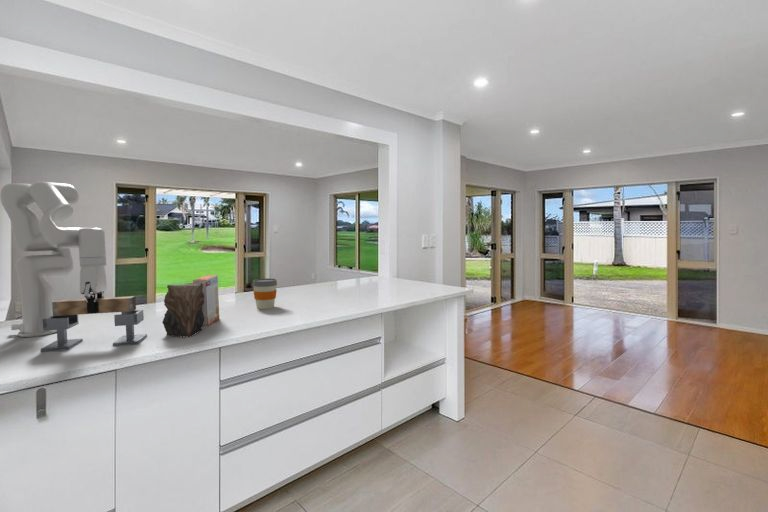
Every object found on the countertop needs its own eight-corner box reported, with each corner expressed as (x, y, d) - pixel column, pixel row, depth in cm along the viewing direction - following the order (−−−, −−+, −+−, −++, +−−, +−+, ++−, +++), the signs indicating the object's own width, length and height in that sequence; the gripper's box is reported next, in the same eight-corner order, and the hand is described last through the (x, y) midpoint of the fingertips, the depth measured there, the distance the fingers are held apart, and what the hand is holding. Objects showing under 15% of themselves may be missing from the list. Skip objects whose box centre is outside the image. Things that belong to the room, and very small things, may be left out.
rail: (52, 316, 127) (52, 302, 127) (59, 313, 131) (58, 299, 131) (132, 311, 135) (131, 297, 135) (136, 309, 139) (135, 296, 138)
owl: (161, 335, 145) (159, 285, 143) (185, 327, 157) (183, 281, 155) (188, 337, 142) (187, 287, 140) (210, 329, 154) (209, 282, 153)
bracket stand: (40, 351, 125) (38, 320, 124) (56, 343, 134) (54, 313, 133) (138, 343, 134) (137, 314, 133) (146, 336, 143) (145, 308, 142)
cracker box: (206, 319, 171) (205, 275, 170) (219, 318, 172) (218, 275, 170) (193, 327, 157) (192, 279, 156) (208, 326, 158) (206, 279, 156)
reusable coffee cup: (273, 309, 191) (272, 281, 190) (249, 309, 192) (248, 281, 190) (280, 304, 204) (279, 278, 203) (258, 304, 204) (257, 278, 203)
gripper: (91, 260, 139) (94, 307, 140) (68, 264, 123) (72, 317, 124) (114, 259, 141) (117, 306, 142) (95, 263, 125) (98, 315, 126)
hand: (96, 311), depth 133 cm, fingers closed on rail, 4 cm apart
